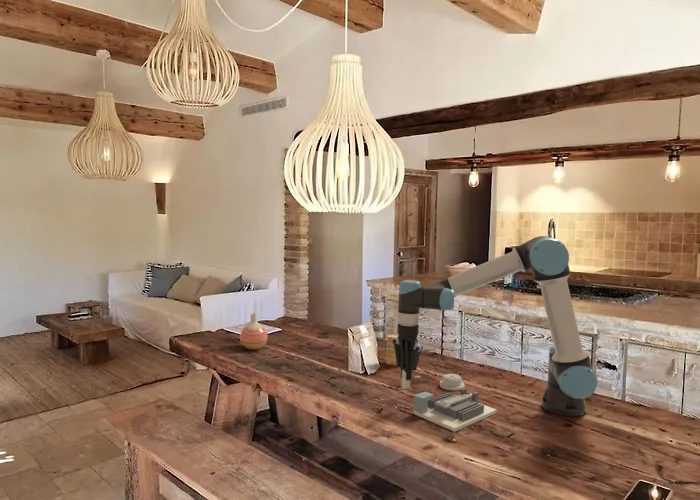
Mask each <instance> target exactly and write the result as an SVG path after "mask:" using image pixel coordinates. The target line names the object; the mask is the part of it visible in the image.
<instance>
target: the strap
mask: <svg viewBox="0 0 700 500" xmlns="http://www.w3.org/2000/svg"><path fill="white" fill-rule="evenodd" d="M472 395H473V393H468V392H467V393H465V394H463V395H461V394H460V395H459V396H457V397H454V398H451V399H448V400H445V401H437V402H435V404H436V405H438V406H441V407H443V408H446V409H447V408H450V407H451V405H454V404H457V403H460V402H463V401H466V400H472Z"/></svg>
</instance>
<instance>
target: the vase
mask: <svg viewBox="0 0 700 500" xmlns="http://www.w3.org/2000/svg"><path fill="white" fill-rule="evenodd" d="M239 340H240V343H241V345H242V346H243V347H244V348H246V350H249V351H250V350H251V351H252V350H253V351H255V350H259V349H261V348H262V347H264V346H265V345H266V343H267V341H268V332H267V330H266V328H265V326H263V325H262V324H261V323H259V322H258V313H255V312H253V313H250V322H248V323H247V324H246V325H245V326H244V327H243V328H242V330H241V332H240V335H239Z"/></svg>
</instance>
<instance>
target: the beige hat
mask: <svg viewBox="0 0 700 500" xmlns="http://www.w3.org/2000/svg"><path fill="white" fill-rule="evenodd" d="M462 378H463V377H462V376H461V375H459V374H456V373H448V374H447V373H445V374H443V375H442V380H440V381H439V387H440V388H441V389H444V390H446V391H447V390H448V391H461V389H462V388H465V385H466V384H465V383H464V382H463V381H462Z"/></svg>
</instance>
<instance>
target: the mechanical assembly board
mask: <svg viewBox="0 0 700 500" xmlns="http://www.w3.org/2000/svg"><path fill="white" fill-rule="evenodd" d="M467 390H468V389H467V387H464V388H462V389H461V390H460V395H463V394H465V393H468V392H467ZM460 395H459V394H456V393H451V392H450V391H449V392H446V393H442V394H440V395H438V396H434V397H432V398H430V399H428V411H427V412H426V413H423V414H422V413H420V412H417V411H415V410H414V409H413V415H416V416H418V417H420V418H422V419H424V420H427V421H429V422H432V423H434V424H436V425H438V426H440V427H443V428H445V429H448V430H450V431H451V432H455V433H456V432H457V431H459V430H461V429H464V428H466V427H468V426H471V425H473V424H475V423H477V422H480V421H481V420H483V419H487V418H488V417H490V416H493V415H496V414H497V412H498V411H497V409H496V408H493V407H491V406H488V405H485V404H483V403H481V402H479V395H480V394H479V392H478V391H474V392H472V399H469V400H466V401H463V402H460V403H457V404H454V405H451V407H450V408H447V409H446V408H443V407H441V406H438V405H436V404H435V402H437V401H445V400H448V399H451V398H454V397H457V396H460Z"/></svg>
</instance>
